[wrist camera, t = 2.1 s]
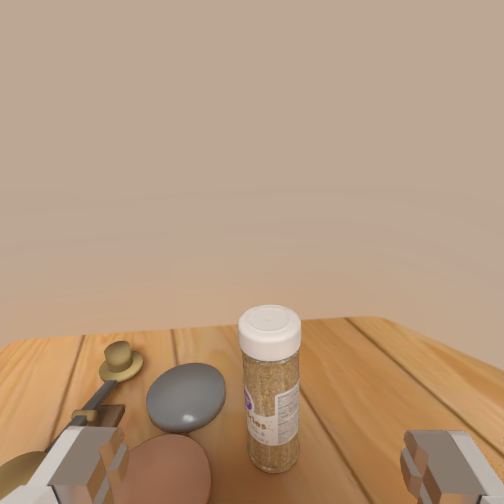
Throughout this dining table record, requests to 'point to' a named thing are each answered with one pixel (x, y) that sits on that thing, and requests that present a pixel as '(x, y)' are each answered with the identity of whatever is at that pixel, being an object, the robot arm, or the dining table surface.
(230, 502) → the dining table surface
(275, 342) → the spice jar
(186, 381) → the grey oval pebble
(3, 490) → the balance
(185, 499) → the peach oval pebble
